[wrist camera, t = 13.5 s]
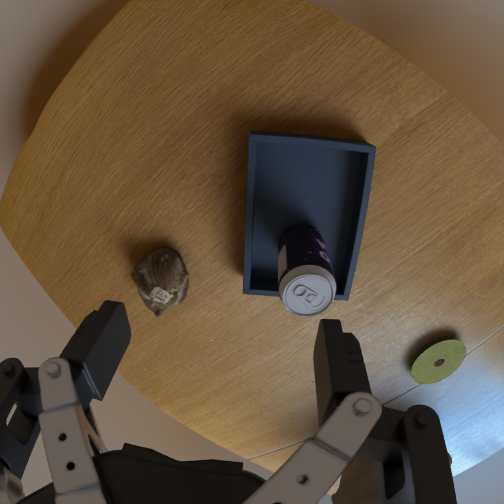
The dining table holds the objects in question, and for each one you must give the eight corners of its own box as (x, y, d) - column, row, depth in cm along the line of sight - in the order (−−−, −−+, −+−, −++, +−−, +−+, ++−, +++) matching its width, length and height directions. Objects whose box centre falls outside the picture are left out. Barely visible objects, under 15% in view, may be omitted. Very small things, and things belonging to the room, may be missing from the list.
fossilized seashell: (161, 322, 45) (211, 284, 44) (134, 327, 39) (189, 285, 37) (137, 280, 47) (184, 240, 45) (109, 279, 41) (159, 234, 39)
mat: (407, 383, 52) (410, 391, 50) (408, 343, 48) (411, 351, 46) (458, 366, 50) (461, 373, 48) (465, 324, 45) (469, 331, 44)
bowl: (359, 472, 71) (365, 531, 53) (311, 440, 62) (314, 518, 44) (448, 435, 62) (465, 495, 45) (425, 391, 53) (451, 473, 35)
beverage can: (305, 269, 42) (313, 329, 31) (269, 247, 41) (266, 303, 30) (332, 236, 39) (350, 290, 29) (295, 212, 38) (302, 259, 28)
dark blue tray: (251, 131, 35) (248, 134, 32) (367, 142, 34) (376, 146, 31) (245, 279, 44) (242, 294, 41) (343, 285, 43) (348, 300, 40)
